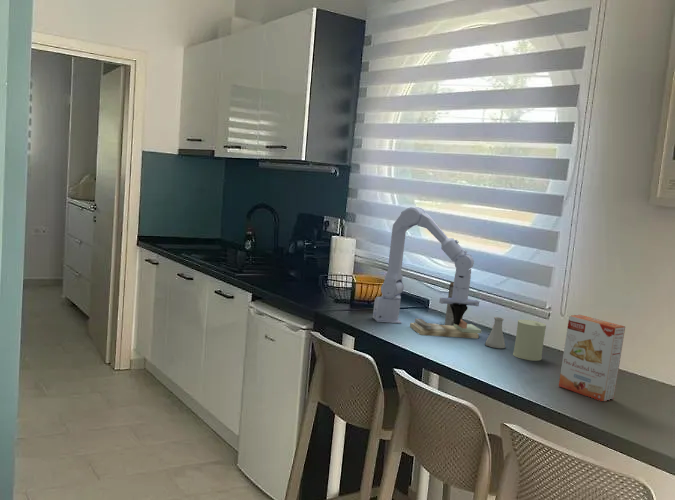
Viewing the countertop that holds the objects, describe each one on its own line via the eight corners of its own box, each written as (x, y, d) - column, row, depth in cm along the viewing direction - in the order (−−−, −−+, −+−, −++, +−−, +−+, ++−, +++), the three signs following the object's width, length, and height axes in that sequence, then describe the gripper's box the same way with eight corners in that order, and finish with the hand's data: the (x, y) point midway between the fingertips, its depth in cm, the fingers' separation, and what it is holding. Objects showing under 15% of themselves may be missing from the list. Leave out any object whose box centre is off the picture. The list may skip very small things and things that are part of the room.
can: (526, 361, 223) (531, 324, 221) (507, 353, 231) (511, 318, 229) (547, 360, 227) (552, 324, 226) (527, 352, 235) (532, 318, 234)
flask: (507, 346, 241) (511, 318, 240) (503, 350, 234) (507, 321, 233) (487, 342, 244) (490, 314, 243) (482, 346, 237) (486, 317, 236)
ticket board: (420, 334, 244) (421, 325, 244) (409, 326, 256) (410, 317, 255) (478, 338, 249) (479, 329, 248) (465, 330, 260) (466, 321, 260)
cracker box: (557, 387, 196) (568, 314, 194) (569, 384, 200) (579, 313, 198) (603, 403, 185) (615, 326, 183) (614, 400, 189) (626, 325, 187)
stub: (462, 332, 249) (463, 323, 248) (453, 326, 257) (454, 317, 257) (481, 333, 250) (482, 324, 250) (471, 327, 259) (472, 319, 259)
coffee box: (445, 321, 273) (450, 281, 271) (461, 324, 271) (467, 283, 270) (444, 326, 264) (449, 284, 262) (461, 328, 262) (466, 287, 261)
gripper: (446, 288, 246) (441, 325, 247) (484, 291, 249) (479, 327, 250) (439, 284, 253) (434, 320, 254) (476, 287, 256) (471, 323, 257)
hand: (456, 324), depth 253 cm, fingers closed
